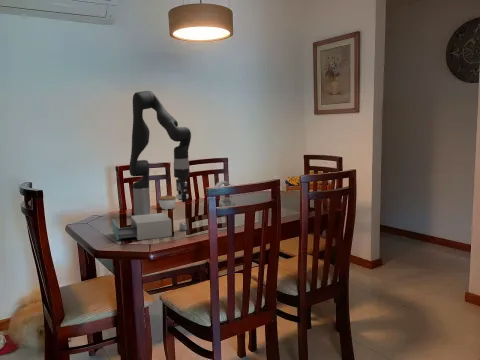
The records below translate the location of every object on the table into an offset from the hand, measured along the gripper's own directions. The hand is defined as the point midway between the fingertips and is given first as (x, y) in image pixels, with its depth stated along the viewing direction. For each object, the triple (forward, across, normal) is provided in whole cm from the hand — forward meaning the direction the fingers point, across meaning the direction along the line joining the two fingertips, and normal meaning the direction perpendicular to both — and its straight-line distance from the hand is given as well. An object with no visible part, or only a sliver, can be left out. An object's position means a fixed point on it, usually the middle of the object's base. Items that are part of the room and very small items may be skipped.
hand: (182, 201), depth 202 cm
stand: (+15, 0, 0) cm, 15 cm away
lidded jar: (+16, -59, +6) cm, 61 cm away
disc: (-1, 0, 0) cm, 1 cm away
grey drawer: (+14, 0, -26) cm, 29 cm away
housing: (+15, 0, -16) cm, 22 cm away
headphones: (+15, -27, +32) cm, 44 cm away
